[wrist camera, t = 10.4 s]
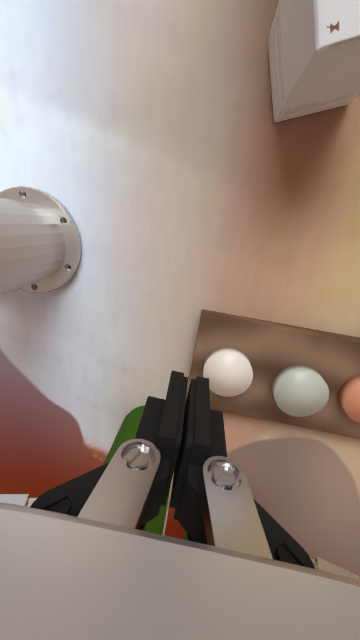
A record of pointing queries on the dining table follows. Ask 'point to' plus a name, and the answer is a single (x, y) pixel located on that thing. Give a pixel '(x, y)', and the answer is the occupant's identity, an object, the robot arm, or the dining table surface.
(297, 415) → the sage button
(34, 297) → the dining table surface
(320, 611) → the robot arm
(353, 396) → the terracotta button
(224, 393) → the cream button
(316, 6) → the supplement box
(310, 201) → the dining table surface
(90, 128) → the dining table surface
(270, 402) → the button board
